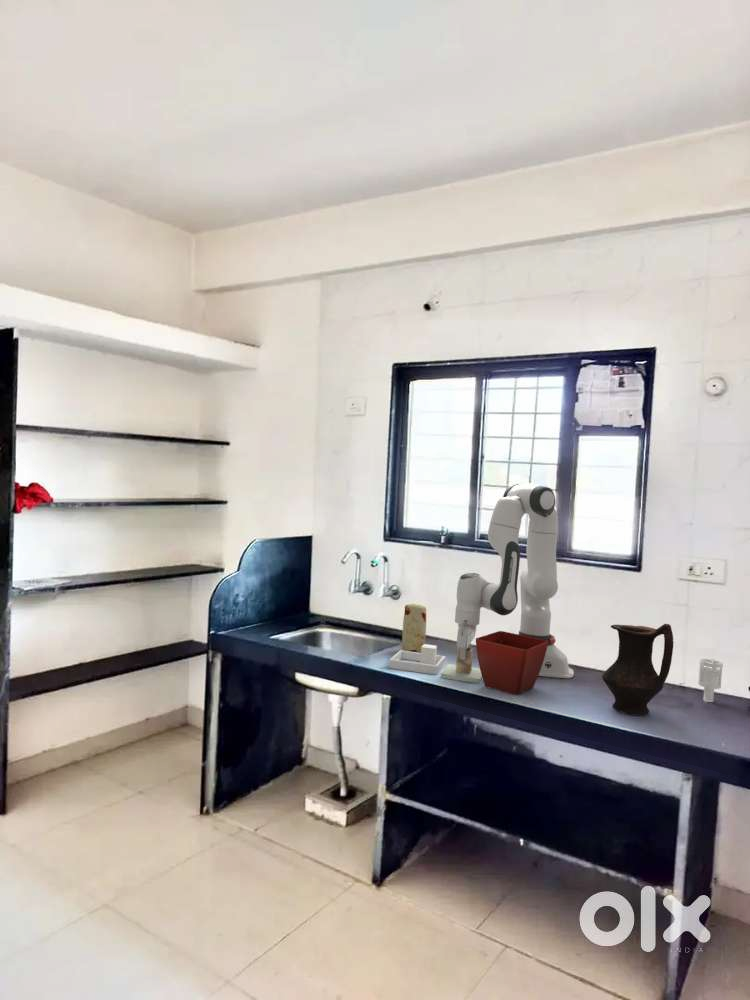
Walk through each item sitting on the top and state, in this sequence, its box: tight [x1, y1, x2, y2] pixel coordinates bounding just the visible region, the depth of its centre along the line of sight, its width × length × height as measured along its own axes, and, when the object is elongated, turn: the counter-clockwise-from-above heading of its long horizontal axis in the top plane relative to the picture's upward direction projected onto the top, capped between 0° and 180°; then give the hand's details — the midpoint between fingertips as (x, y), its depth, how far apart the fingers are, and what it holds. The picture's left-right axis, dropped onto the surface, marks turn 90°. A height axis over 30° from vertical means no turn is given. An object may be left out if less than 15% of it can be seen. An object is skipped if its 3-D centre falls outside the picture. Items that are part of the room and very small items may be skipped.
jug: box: [601, 623, 674, 716], centre depth 219 cm, size 21×18×30 cm
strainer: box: [697, 658, 724, 703], centre depth 236 cm, size 7×7×15 cm
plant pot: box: [475, 630, 548, 696], centre depth 237 cm, size 19×19×17 cm
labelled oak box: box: [455, 647, 474, 674], centre depth 249 cm, size 5×5×8 cm
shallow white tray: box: [388, 649, 447, 676], centre depth 258 cm, size 18×16×3 cm
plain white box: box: [419, 643, 438, 665], centre depth 257 cm, size 5×5×8 cm
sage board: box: [440, 663, 483, 684], centre depth 249 cm, size 14×14×2 cm
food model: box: [401, 603, 427, 653], centre depth 277 cm, size 10×7×20 cm
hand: (464, 656), depth 249 cm, fingers open, 8 cm apart
